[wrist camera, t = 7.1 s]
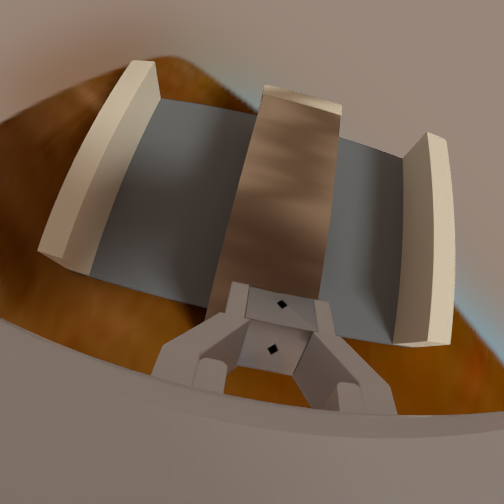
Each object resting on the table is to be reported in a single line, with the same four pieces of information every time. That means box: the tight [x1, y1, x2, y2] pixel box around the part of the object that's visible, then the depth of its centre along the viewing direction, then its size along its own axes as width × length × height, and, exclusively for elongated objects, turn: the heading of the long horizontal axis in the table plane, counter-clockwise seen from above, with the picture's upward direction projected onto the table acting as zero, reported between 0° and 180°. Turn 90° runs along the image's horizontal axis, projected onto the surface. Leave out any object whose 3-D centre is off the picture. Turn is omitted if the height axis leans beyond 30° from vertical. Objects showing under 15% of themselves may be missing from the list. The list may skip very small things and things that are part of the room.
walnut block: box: [204, 85, 342, 321], centre depth 17 cm, size 4×4×14 cm
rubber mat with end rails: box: [37, 60, 455, 347], centre depth 17 cm, size 21×13×4 cm, turn 78°
